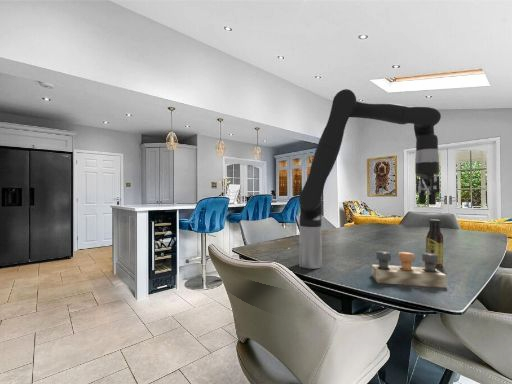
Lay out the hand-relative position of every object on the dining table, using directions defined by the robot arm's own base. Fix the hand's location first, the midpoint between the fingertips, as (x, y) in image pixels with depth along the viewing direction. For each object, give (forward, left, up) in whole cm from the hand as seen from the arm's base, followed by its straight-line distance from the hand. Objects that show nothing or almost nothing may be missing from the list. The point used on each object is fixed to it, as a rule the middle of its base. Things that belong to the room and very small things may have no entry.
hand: (427, 204), depth 99 cm
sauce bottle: (+8, +14, -27) cm, 32 cm away
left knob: (-18, -10, -24) cm, 31 cm away
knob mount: (-10, -10, -27) cm, 31 cm away
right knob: (-3, -10, -24) cm, 26 cm away
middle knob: (-10, -10, -24) cm, 28 cm away
